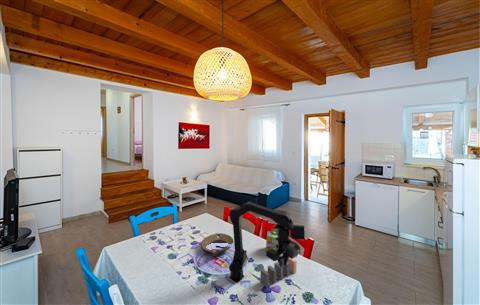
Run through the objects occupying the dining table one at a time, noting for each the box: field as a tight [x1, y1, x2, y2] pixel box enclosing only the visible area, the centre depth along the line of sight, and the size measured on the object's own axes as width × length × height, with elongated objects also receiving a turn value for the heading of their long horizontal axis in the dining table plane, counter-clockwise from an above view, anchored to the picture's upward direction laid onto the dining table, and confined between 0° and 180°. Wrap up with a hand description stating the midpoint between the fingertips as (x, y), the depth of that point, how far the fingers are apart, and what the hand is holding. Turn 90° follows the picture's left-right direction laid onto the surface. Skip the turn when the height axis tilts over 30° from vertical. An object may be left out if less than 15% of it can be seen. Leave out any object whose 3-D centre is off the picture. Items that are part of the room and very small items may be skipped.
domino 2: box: [267, 265, 278, 285], centre depth 111 cm, size 2×5×7 cm, turn 33°
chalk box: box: [265, 228, 278, 252], centre depth 140 cm, size 9×9×15 cm
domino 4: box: [282, 262, 291, 278], centre depth 117 cm, size 2×5×7 cm, turn 34°
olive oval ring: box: [200, 232, 234, 257], centre depth 142 cm, size 22×30×8 cm
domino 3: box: [273, 261, 284, 281], centre depth 114 cm, size 2×5×7 cm, turn 33°
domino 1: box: [260, 268, 270, 289], centre depth 108 cm, size 2×5×7 cm, turn 33°
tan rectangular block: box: [288, 257, 297, 274], centre depth 119 cm, size 2×5×7 cm, turn 34°
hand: (283, 266), depth 106 cm, fingers open, 3 cm apart
